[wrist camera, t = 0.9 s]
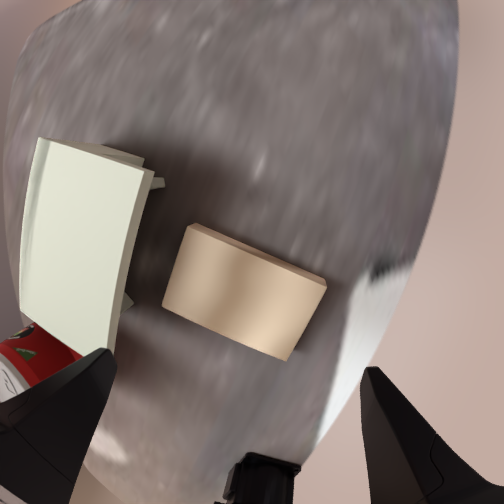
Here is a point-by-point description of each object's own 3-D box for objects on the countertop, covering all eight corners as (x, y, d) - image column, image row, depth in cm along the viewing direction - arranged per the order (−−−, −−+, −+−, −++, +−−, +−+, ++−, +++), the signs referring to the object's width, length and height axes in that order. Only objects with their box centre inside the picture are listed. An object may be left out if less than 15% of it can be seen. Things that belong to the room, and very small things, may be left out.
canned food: (90, 299, 24) (6, 354, 13) (121, 372, 25) (61, 443, 15) (44, 307, 25) (-28, 351, 15) (73, 371, 27) (15, 426, 16)
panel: (323, 277, 21) (327, 287, 19) (286, 346, 23) (286, 361, 20) (197, 221, 21) (187, 226, 19) (172, 295, 23) (161, 306, 21)
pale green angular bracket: (191, 174, 20) (144, 171, 13) (147, 325, 23) (104, 369, 17) (98, 144, 20) (38, 137, 14) (70, 283, 24) (20, 310, 17)
